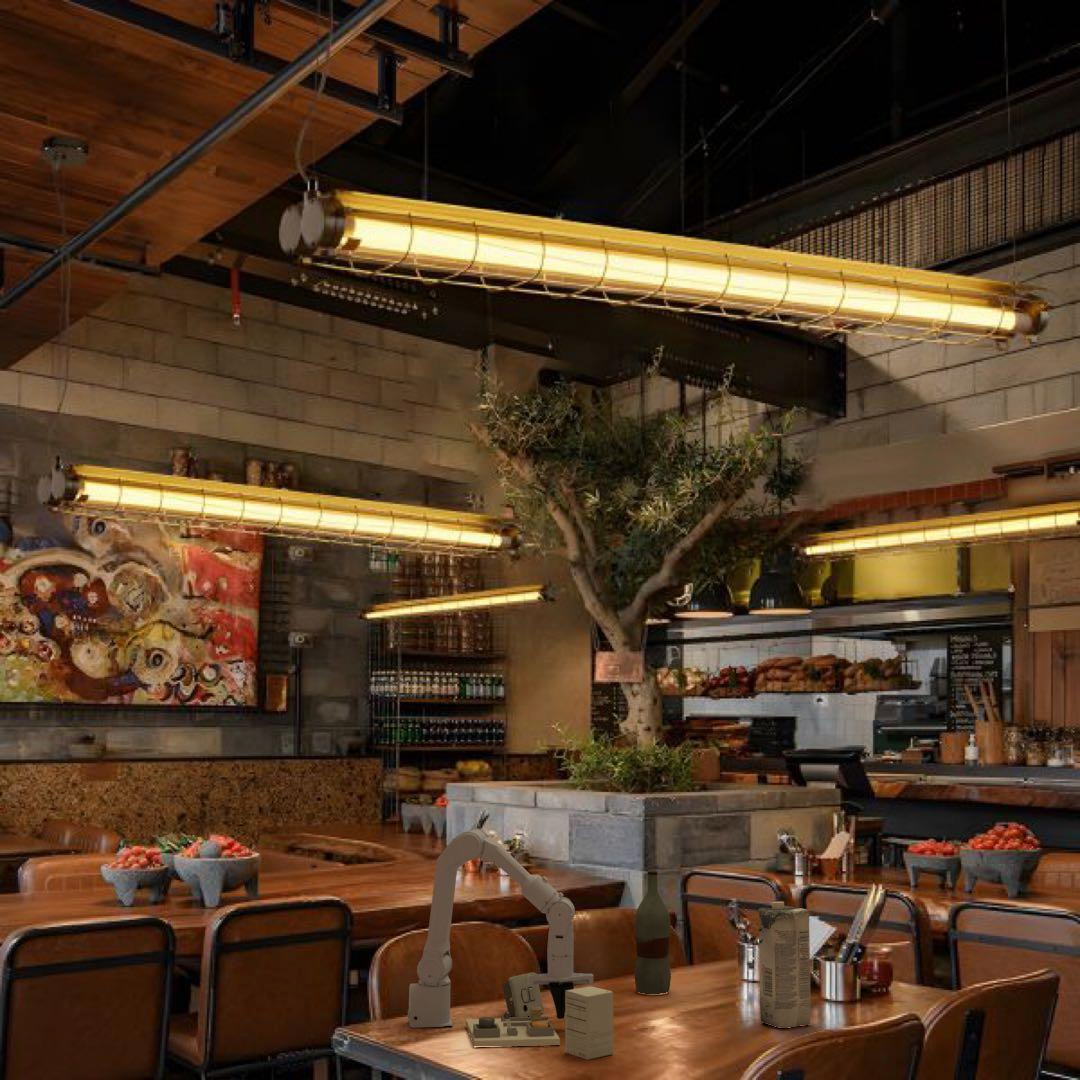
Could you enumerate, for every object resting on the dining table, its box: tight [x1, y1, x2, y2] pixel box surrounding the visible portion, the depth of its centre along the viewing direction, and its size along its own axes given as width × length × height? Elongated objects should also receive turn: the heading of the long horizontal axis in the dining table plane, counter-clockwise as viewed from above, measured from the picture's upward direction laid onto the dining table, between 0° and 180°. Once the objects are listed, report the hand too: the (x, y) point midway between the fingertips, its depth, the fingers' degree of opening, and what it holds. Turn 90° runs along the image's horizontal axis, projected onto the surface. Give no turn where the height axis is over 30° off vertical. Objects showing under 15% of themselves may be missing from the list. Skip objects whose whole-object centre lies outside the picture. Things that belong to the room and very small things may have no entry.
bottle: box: [634, 869, 672, 994], centre depth 340 cm, size 9×9×30 cm
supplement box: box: [564, 985, 615, 1061], centre depth 278 cm, size 7×7×13 cm
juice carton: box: [757, 901, 812, 1028], centre depth 306 cm, size 9×10×27 cm
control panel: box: [465, 1016, 561, 1047], centre depth 292 cm, size 18×20×3 cm
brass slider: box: [529, 1007, 542, 1022], centre depth 298 cm, size 2×3×3 cm, turn 8°
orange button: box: [532, 1021, 548, 1028], centre depth 288 cm, size 3×3×2 cm
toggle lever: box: [502, 1011, 512, 1030], centre depth 287 cm, size 2×2×4 cm
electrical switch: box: [502, 971, 545, 1017], centre depth 313 cm, size 9×5×9 cm, turn 141°
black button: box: [478, 1016, 496, 1028], centre depth 286 cm, size 3×3×2 cm
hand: (560, 1017), depth 298 cm, fingers closed
